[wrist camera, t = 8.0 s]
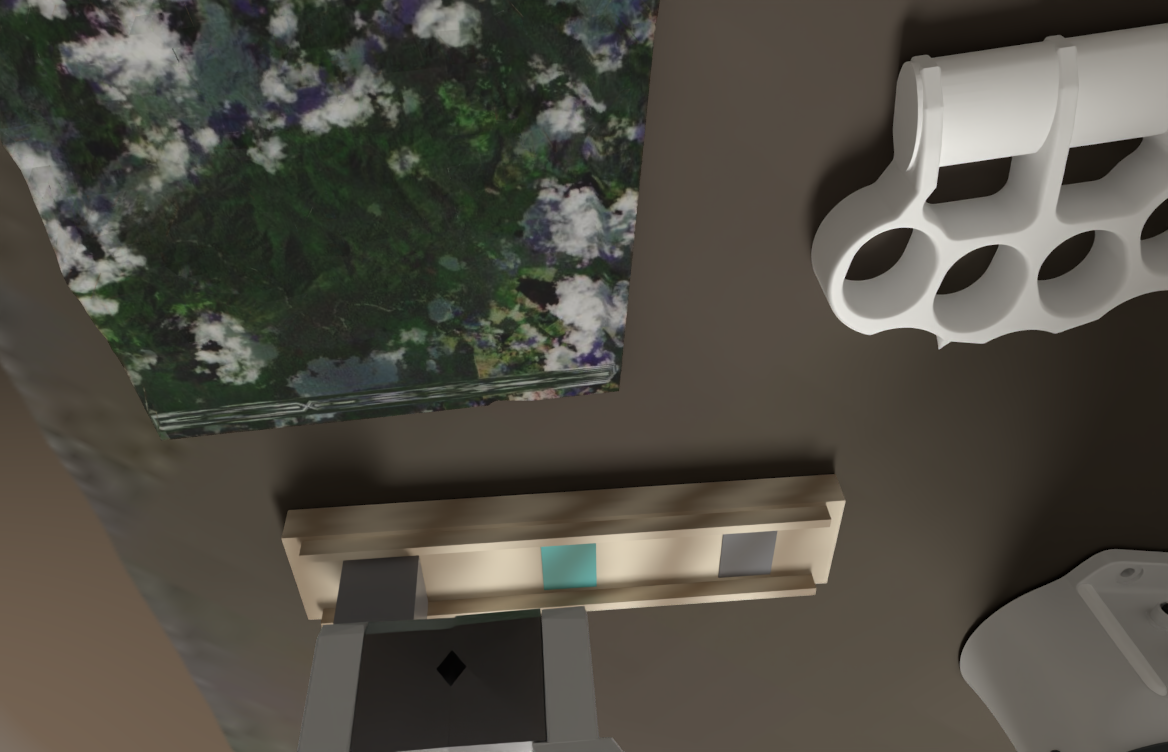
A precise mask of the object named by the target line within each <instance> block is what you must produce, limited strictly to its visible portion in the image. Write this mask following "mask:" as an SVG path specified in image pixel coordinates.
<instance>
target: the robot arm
mask: <svg viewBox="0 0 1168 752" xmlns="http://www.w3.org/2000/svg"><path fill="white" fill-rule="evenodd" d="M541 617H542V622H541ZM960 670H961V673H962V676H963V678H964V679H965V681H966V682H967V683H968V684H969V685H970V686H971V688H972V689H973V690H974V691H975V692H976V693H977V694H978V696H979V697H980V698H981V699H982V701H983V702H984V703H985V704H986V706H987V707H988V708H989V710H990V711H991V713H992V714H993V715H994V717H995V718H996V719H997V721H998V722H999V724H1000V725H1001V727H1002V728H1003V730H1004V731H1005V733H1006V734H1007V736H1008V737H1009V739H1010V740H1011V742H1012V744H1013V745H1014V747H1015V749H1016V750H1017V752H1168V552H1154V551H1139V550H1124V549H1110V550H1105V551H1102V552H1100V553H1097V554H1095V555H1094V556H1092V557H1090V558H1089V559H1087V560H1086V561H1084V562H1083V563H1081V564H1080V565H1079V566H1077V567H1076V568H1074V569H1073V570H1072V571H1070V572H1069V573H1068V574H1066V575H1065V576H1063V577H1062V578H1060V579H1058V580H1056V581H1054V582H1051V583H1049V584H1047V585H1044V586H1042V587H1040V588H1037V589H1035V590H1033V591H1031V592H1029V593H1026V594H1024V595H1022V596H1020V597H1019V598H1017V599H1015V600H1013V601H1011V602H1010V603H1008V604H1007V605H1005V606H1003V607H1002V608H1000V609H999V610H998V611H996V612H995V613H994V614H992V615H991V616H990V617H989V618H987V619H986V620H985V621H984V622H983V623H982V624H981V625H980V626H979V627H978V628H977V629H976V630H975V631H974V633H973V634H972V635H971V636H970V638H969V639H968V641H967V643H966V644H965V646H964V648H963V651H962V654H961V658H960ZM297 752H623V750H622V749H621V748H620V747H619V745H618V744H617V743H616V742H615V740H614V739H613V738H612V737H608V738H599V733H598V722H597V712H596V701H595V691H594V680H593V670H592V659H591V649H590V638H589V628H588V617H587V612H586V609H585V606H576V607H565V608H554V609H543V610H542V611H541V610H540V608H538V609H526V610H515V611H504V612H493V613H481V614H470V615H459V616H455V617H453V618H435V619H416V620H398V621H379V622H358V623H344V624H330V625H323V627H322V629H321V631H320V633H319V636H318V638H317V641H316V647H315V652H314V658H313V664H312V669H311V675H310V681H309V686H308V692H307V698H306V704H305V709H304V715H303V721H302V726H301V732H300V738H299V744H298V749H297Z"/></svg>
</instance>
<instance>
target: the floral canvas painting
mask: <svg viewBox="0 0 1168 752" xmlns="http://www.w3.org/2000/svg"><path fill="white" fill-rule="evenodd" d="M659 2H660V0H0V139H1V141H2V144H3V146H4V147H5V149H6V150H7V151H8V153H9V154H10V155H11V156H12V158H13V159H14V161H15V162H16V164H17V165H18V166H19V168H20V169H21V171H22V173H23V175H24V178H25V180H26V182H27V184H28V187H29V189H30V192H31V195H32V197H33V200H34V202H35V204H36V207H37V209H38V211H39V214H40V216H41V218H42V221H43V223H44V225H45V228H46V231H47V234H48V236H49V239H50V242H51V244H52V246H53V249H54V251H55V253H56V256H57V259H58V263H59V266H60V269H61V272H62V274H63V276H64V279H65V281H66V283H67V285H68V286H69V288H70V289H71V291H72V293H73V294H74V295H75V296H76V297H77V298H78V299H79V300H80V302H81V303H82V305H83V306H84V308H85V310H86V311H87V313H88V315H89V316H90V318H91V320H92V321H93V323H94V324H95V325H96V327H97V328H98V329H99V331H100V332H101V333H102V334H103V335H104V336H105V337H106V339H107V341H108V343H109V345H110V347H111V349H112V350H113V352H114V353H115V354H116V356H117V357H118V359H119V360H120V362H121V364H122V365H123V367H124V369H125V371H126V373H127V374H128V376H129V378H130V380H131V382H132V384H133V386H134V388H135V390H136V392H137V394H138V396H139V398H140V400H141V402H142V404H143V406H144V408H145V410H146V412H147V414H148V416H149V417H150V419H151V421H152V423H153V425H154V427H155V429H156V430H157V432H158V434H159V437H160V439H161V440H171V439H180V438H189V437H197V436H206V435H216V434H225V433H234V432H244V431H254V430H264V429H273V428H282V427H292V426H301V425H311V424H320V423H330V422H340V421H350V420H360V419H369V418H377V417H386V416H396V415H405V414H415V413H425V412H434V411H443V410H452V409H461V408H470V407H478V406H487V405H490V404H491V403H492V402H494V401H498V400H542V399H551V398H561V397H570V396H579V395H588V394H597V393H606V392H615V391H619V386H620V375H621V366H622V356H623V346H624V336H625V325H626V316H627V306H628V296H629V286H630V276H631V266H632V256H633V246H634V236H635V225H636V215H637V205H638V195H639V185H640V175H641V165H642V155H643V145H644V136H645V125H646V114H647V104H648V94H649V84H650V74H651V65H652V55H653V45H654V37H655V29H656V21H657V16H658V10H659Z"/></svg>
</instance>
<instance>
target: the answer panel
mask: <svg viewBox="0 0 1168 752" xmlns="http://www.w3.org/2000/svg"><path fill="white" fill-rule="evenodd" d="M845 501H846V500H845V498H844V495H843V493H842V490H841V488H840V485H839V482H838V480H837V477H836V475H835V474H829V475H813V476H798V477H783V478H768V479H753V480H738V481H722V482H707V483H692V484H677V485H662V486H647V487H631V488H616V489H601V490H586V491H571V492H556V493H540V494H525V495H510V496H495V497H480V498H465V499H449V500H434V501H419V502H404V503H389V504H374V505H358V506H343V507H328V508H313V509H298V510H288V512H287V517H286V521H285V525H284V530H283V534H282V538H281V539H282V542H283V544H284V547H285V550H286V553H287V556H288V559H289V562H290V565H291V568H292V571H293V574H294V577H295V580H296V583H297V586H298V589H299V592H300V595H301V598H302V601H303V604H304V607H305V610H306V613H307V616H308V619H309V620H313V619H322V620H321V626H322V627H323V625H330V624H333V622H334V615H335V609H336V603H337V596H338V590H339V584H340V578H341V571H342V565H343V561H344V560H359V559H373V558H388V557H403V556H417V555H419V558H420V563H421V568H422V573H423V578H424V583H425V588H426V593H427V598H428V612H427V619H435V618H453V617H455V616H459V615H470V614H481V613H493V612H504V611H515V610H526V609H538V608H540V610H541V611H542V610H543V609H554V608H565V607H576V606H585V609H586V611H596V610H610V609H624V608H638V607H652V606H666V605H680V604H694V603H708V602H722V601H736V600H750V599H763V598H777V597H791V596H805V595H815V593H816V585H815V584H819V583H827V579H828V575H829V571H830V566H831V562H832V558H833V553H834V549H835V544H836V540H837V536H838V531H839V527H840V523H841V518H842V514H843V510H844V505H845Z"/></svg>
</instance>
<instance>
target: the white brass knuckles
mask: <svg viewBox="0 0 1168 752" xmlns="http://www.w3.org/2000/svg"><path fill="white" fill-rule="evenodd" d="M1140 137H1143V140H1142V142H1141V144H1140V146H1139V147H1138V148H1137V149H1136V150H1135V151H1134V152H1133V153H1131V154H1130V155H1128V156H1127V157H1125V158H1124V159H1123V160H1121V161H1120V162H1119V163H1118V164H1117V165H1116V166H1115V167H1114V168H1113V169H1112V170H1111V171H1110V172H1109V173H1108V174H1107V175H1106V176H1105V177H1103V178H1101V179H1099V180H1095V181H1089V182H1082V183H1075V184H1068V185H1061V184H1062V180H1063V176H1064V171H1065V166H1066V161H1067V157H1068V152H1069V148H1072V147H1079V146H1086V145H1092V144H1099V143H1106V142H1113V141H1119V140H1126V139H1133V138H1140ZM893 144H894V158H893V160H892V162H891V163H890V164H889V166H888V167H887V168H886V169H885V171H884V172H883V173H882V174H881V176H880V177H879V178H878V180H877V181H876V182H875V183H873V184H871V185H869V186H866V187H864V188H861V189H859V190H857V191H855V192H854V193H852V194H850V195H849V196H847V197H846V198H844V199H843V200H842V201H841V202H839V203H838V204H837V205H836V206H835V207H834V208H833V209H832V210H831V211H830V212H829V213H828V214H827V216H826V217H825V218H824V220H823V221H822V223H821V224H820V226H819V228H818V230H817V232H816V235H815V237H814V240H813V244H812V251H811V260H812V266H813V270H814V273H815V275H816V277H817V279H818V281H819V283H820V285H821V288H822V290H823V292H824V294H825V296H826V298H827V300H828V302H829V304H830V307H831V309H832V310H833V312H834V313H835V315H836V316H837V317H838V318H839V320H840V321H842V322H843V323H844V324H845V325H846V326H848V327H850V328H851V329H853V330H855V331H858V332H860V333H863V334H867V335H872V334H875V333H878V332H881V331H884V330H888V329H894V328H918V329H923V330H926V331H929V332H931V333H933V334H935V335H936V336H937V342H938V349H941V348H942V347H944V346H945V345H947V344H948V343H950V342H951V341H952V342H965V343H979V344H985V343H986V342H988V341H990V340H992V339H994V338H997V337H999V336H1002V335H1005V334H1008V333H1012V332H1016V331H1022V330H1043V331H1048V332H1051V333H1054V334H1056V333H1059V332H1063V331H1065V330H1068V329H1071V328H1074V327H1077V326H1080V325H1083V324H1086V323H1089V322H1092V321H1095V320H1098V319H1100V318H1101V317H1102V316H1103V315H1104V314H1106V313H1107V312H1108V311H1110V310H1111V309H1113V308H1114V307H1116V306H1118V305H1119V304H1121V303H1123V302H1125V301H1127V300H1129V299H1132V298H1134V297H1137V296H1140V295H1143V294H1146V293H1150V292H1155V291H1163V290H1168V230H1166V231H1165V232H1163V233H1161V234H1159V235H1157V236H1155V237H1152V238H1149V239H1145V240H1140V237H1141V232H1142V229H1143V226H1144V224H1145V222H1146V221H1147V219H1148V217H1149V216H1150V215H1151V213H1152V212H1153V211H1154V210H1155V209H1156V208H1157V207H1158V206H1159V205H1160V204H1161V203H1162V202H1163V201H1165V200H1166V199H1167V198H1168V23H1164V24H1157V25H1151V26H1144V27H1137V28H1130V29H1123V30H1117V31H1110V32H1103V33H1096V34H1090V35H1083V36H1076V37H1069V38H1064V37H1063V36H1061V35H1055V36H1049V37H1046V38H1045V39H1044V41H1042V42H1036V43H1029V44H1022V45H1015V46H1009V47H1002V48H995V49H988V50H982V51H975V52H968V53H962V54H955V55H948V56H941V57H935V58H931V57H930V56H929V55H921V56H914V57H912V58H911V61H908V62H905V63H904V64H903V66H902V68H901V71H900V73H899V77H898V80H897V88H896V99H895V110H894V120H893ZM1010 156H1012V161H1011V166H1010V172H1009V177H1008V180H1007V182H1006V184H1005V186H1004V187H1003V188H1002V189H1001V190H1000V191H998V192H997V193H995V194H993V195H990V196H986V197H979V198H972V199H966V200H959V201H952V202H945V203H938V204H930V203H927V202H925V201H926V199H927V198H928V197H929V195H930V194H931V193H932V192H933V191H934V190H935V188H936V187H937V179H938V171H939V167H942V166H949V165H956V164H962V163H969V162H976V161H983V160H990V159H997V158H1004V157H1010ZM895 228H913V232H912V235H911V237H910V240H909V242H908V244H907V246H906V249H905V251H904V253H903V255H902V256H901V258H900V259H899V261H898V262H897V263H896V264H895V265H894V266H893V267H892V268H891V269H889V270H888V271H887V272H885V273H883V274H882V275H880V276H877V277H875V278H872V279H868V280H862V281H853V280H847V279H844V278H845V276H846V273H847V271H848V268H849V266H850V264H851V261H852V259H853V257H854V255H855V254H856V252H857V251H858V250H859V249H860V247H861V246H862V245H863V244H865V243H866V242H867V241H868V240H870V239H871V238H872V237H874V236H876V235H878V234H880V233H882V232H884V231H887V230H890V229H895ZM1091 230H1095V239H1094V243H1093V246H1092V248H1091V250H1090V252H1089V253H1088V255H1087V256H1086V257H1085V259H1084V260H1083V261H1082V262H1081V263H1080V264H1079V265H1077V266H1076V267H1075V268H1074V269H1072V270H1071V271H1069V272H1067V273H1066V274H1064V275H1062V276H1059V277H1056V278H1053V279H1049V280H1037V279H1038V273H1039V270H1040V267H1041V265H1042V263H1043V262H1044V260H1045V259H1046V257H1047V256H1048V255H1049V254H1050V253H1051V252H1052V251H1053V250H1054V249H1055V248H1056V247H1057V246H1058V245H1060V244H1061V243H1062V242H1064V241H1065V240H1067V239H1069V238H1071V237H1073V236H1075V235H1077V234H1080V233H1083V232H1086V231H1091ZM994 244H999V246H998V249H997V251H996V253H995V255H994V257H993V259H992V261H991V263H990V265H989V267H988V268H987V270H986V271H985V273H984V274H983V275H982V276H981V277H980V278H979V279H978V280H977V281H976V282H975V283H973V284H972V285H970V286H969V287H967V288H965V289H963V290H961V291H958V292H955V293H951V294H944V295H939V294H936V293H937V290H938V288H939V286H940V284H941V282H942V280H943V278H944V276H945V274H946V273H947V271H948V270H949V269H950V267H951V266H952V265H953V264H954V263H955V262H956V261H957V260H959V259H960V258H961V257H963V256H964V255H966V254H967V253H969V252H971V251H973V250H975V249H977V248H980V247H983V246H988V245H994Z"/></svg>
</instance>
